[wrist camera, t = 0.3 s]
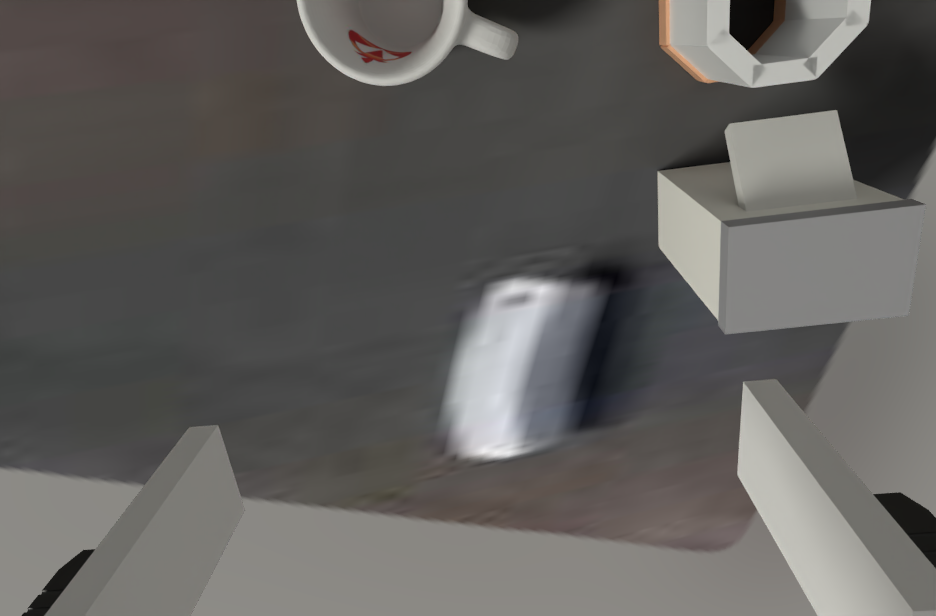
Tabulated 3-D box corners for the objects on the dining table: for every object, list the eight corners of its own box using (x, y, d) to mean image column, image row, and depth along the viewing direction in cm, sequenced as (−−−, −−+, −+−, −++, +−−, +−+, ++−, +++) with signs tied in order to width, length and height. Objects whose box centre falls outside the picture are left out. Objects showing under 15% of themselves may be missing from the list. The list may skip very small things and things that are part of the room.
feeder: (655, 110, 38) (731, 144, 26) (795, 91, 37) (939, 117, 25) (657, 248, 41) (725, 334, 30) (785, 233, 41) (908, 315, 29)
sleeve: (658, -60, 35) (703, -85, 27) (801, -81, 34) (888, -113, 27) (659, 86, 38) (701, 98, 30) (791, 69, 37) (867, 76, 30)
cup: (539, -26, 35) (552, -42, 28) (488, 113, 38) (488, 131, 31) (354, -102, 34) (318, -140, 27) (317, 47, 37) (275, 50, 30)
